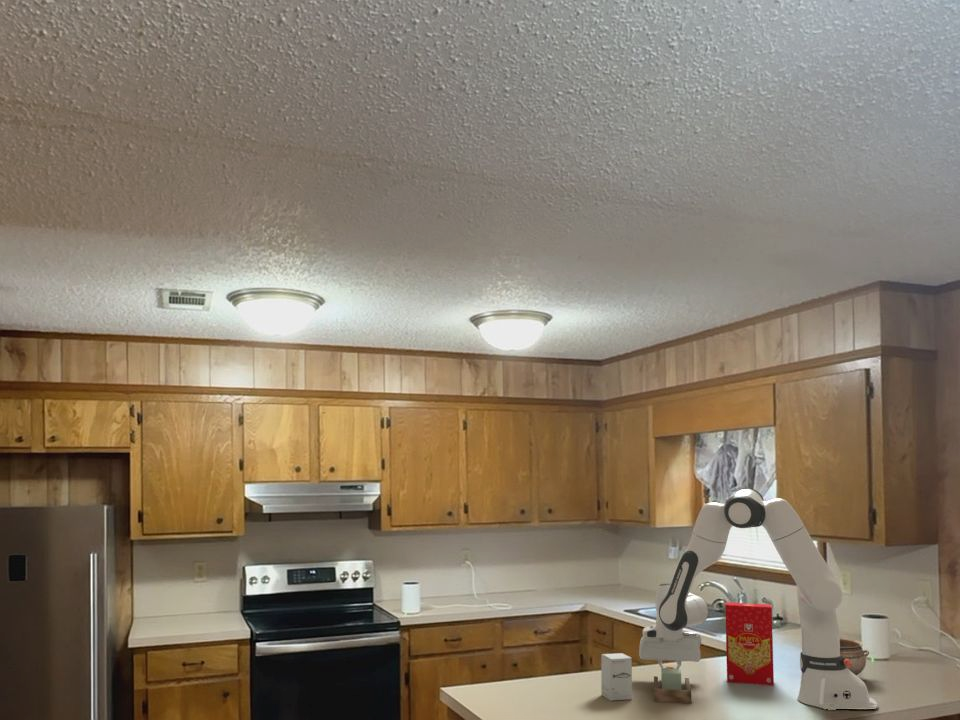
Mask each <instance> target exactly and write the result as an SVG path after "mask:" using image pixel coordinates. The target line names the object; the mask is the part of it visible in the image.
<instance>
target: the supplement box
mask: <svg viewBox="0 0 960 720" xmlns="http://www.w3.org/2000/svg"><path fill="white" fill-rule="evenodd" d="M600 656H601V658H600V660H601V662H600V664H601V665H600V666H601V667H600V670H601V676H600V677H601V680H600V681H601V684H600V685H601V690H600V691H601V696H603V697H604V698H605V699H606V700H608V701H610V702H612V701H622V700H623V701H624V700H630V701H631V700H632V699H633V681H632V680H633V674H632V673H633V672H632V671H633V664H632V663H633V658H632V657H631V656H629V655H627V654H626V653H622V652H620V653H619V652H618V653H602V654H601V655H600Z"/></svg>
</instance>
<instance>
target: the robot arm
mask: <svg viewBox="0 0 960 720" xmlns="http://www.w3.org/2000/svg"><path fill="white" fill-rule="evenodd" d="M761 526H762V527H763V529H764V530H765V531H766V532H767V535H768V536H769V539H770V540H771V542H772V543H773V546H774V547H775V549H776V551H777V553H778V555H779V557H780V559H781V560H782V563H783V564H784V566H785V567H786V570H788V572H789V574H790V575H791V577H792V579H793V581H794V583H795V584H796V591H797V592H796V593H797V595H796V596H797V606H798V613H799V621H800V635H801V640H800V641H801V651H800V657H799V666H800V671H801V677H800V678H801V679H800V686H799V691H798V695H797V700H798V701H799V702H801V703H803V704H806V705H808V706H812V707H817V708H820V709H822V708H823V709H822V710H826V709H828V710H827V711H837V710H836V709H847V708H875V707H876V706H877V707H878V703H877V701H876V700H875V699H873V698H872V697H871V696H870V694H869V690H868V687H867V685H866V683H865V682H864V681H863V680H862V679H861V678H859V676H857V675H855V674H854V673H852V672H851V671H850V670H849V669H847V667H850V665H851V664H852V663H851V661H850V660H849V659H846V658H845V657H843V656H842V655H840V639H839V637H840V626H839V623H838V616H837V610H836V609H837V608H839V606H840V605H841V603H842V601H843V591H842V587H841V585H840V583H839V582H838V581H837V579H836V577H835V575H834V574H833V571H832V570H831V568H830V567H829V564H828V563H827V562H826V560H825V558H824V557H823V556H822V554H821V553H820V551H819V550H818V548H817V546H816V544H815V542H814V541H813V539H812V537H811V535H810V533H809V531H808V530H807V528H806V526H805V524H804V523H803V521H802V519H801V518H800V516H799V515H798V513H797V511H796V510H795V509H794V507H793V506H792V505H791V504H790V503H789V502H788V500H786V499H784V498H773V499H771V500H766V501H765V500H764V497H763V496H762V494H761V493H760V492H759V491H758V490H756V489H755V488H750V487H743V488H740V489H738V490H736V491H734V492H733V493H731V495H730V496H729V498H728V499H727V500H726V501H725V503H719V502H708V503H705V504H704V505H703V506H702V507H701V509H700V511H699V513H698V516H697V517H696V520H695V523H694V526H693V530H692V532H691V536H690V540H689V543H688V545H687V547H686V550H685V551H684V553H683V554H682V556H681V558H680V560H679V562H678V564H677V567H676V569H675V573H674V575H673V579H672V580H671V582H666V583H661V584H659V585H658V586H657V588H656V592H655V612H656V618H655V619H656V620H655V624H652V625H651V626H646V627H644V628H643V629H642V636H641V638H640V642H639V647H638V648H639V650H638V653H639V654H638V655H639V656H638V657H640V659H641V660H649V661H650V660H651V661H653V660H654V661H657V663H658V665H659V667H660V669H666V667H664V665H663V661H675V662H676V664H677V665H676V667H674V669H680V668H681V666H682V662H691V663H692V662H694V663H699V662H700V661H701V659H702V658H701V657H702V656H701V650H700V649H701V648H700V647H701V645H702V636H701V635H700V634H698V633H697V632H694V631H693V632H689V631H688V632H687V631H684V629H685V628H686V629H687V628H690V627H695V626H697V625H701V624H704V622H706V621H707V619H708V616H709V607H708V604H707V601H705V599H704V598H703V597H702V596H700V595H696V594H694V593H692V592H690V591H691V590H692V586H693V583H694V581H695V580H696V578H697V576H698V575H699V574H700V573H702V572H703V571H704V570H705V569H707V568H709V567H711V566H712V565H714V564H716V563H717V562H718V561H720V560H721V558H722V556H723V555H724V552H725V550H726V547H727V541H728V538H729V533H730V531H731V529H732V528H733V527H734V528H737V529H751V528H759V527H761ZM869 697H870V698H869Z"/></svg>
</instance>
